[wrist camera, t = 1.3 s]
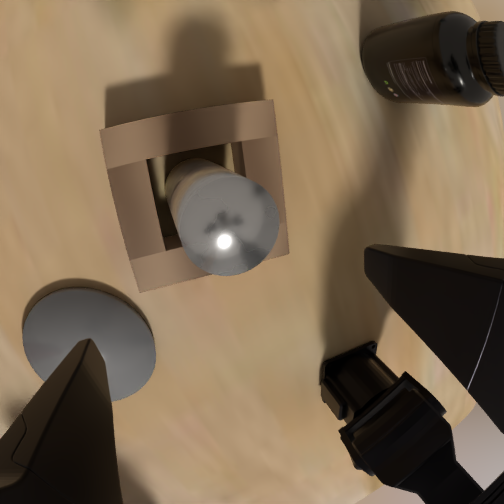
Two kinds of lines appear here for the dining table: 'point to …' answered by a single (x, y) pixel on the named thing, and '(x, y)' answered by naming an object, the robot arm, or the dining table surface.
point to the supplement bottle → (437, 60)
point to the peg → (221, 217)
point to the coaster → (91, 336)
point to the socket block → (178, 140)
